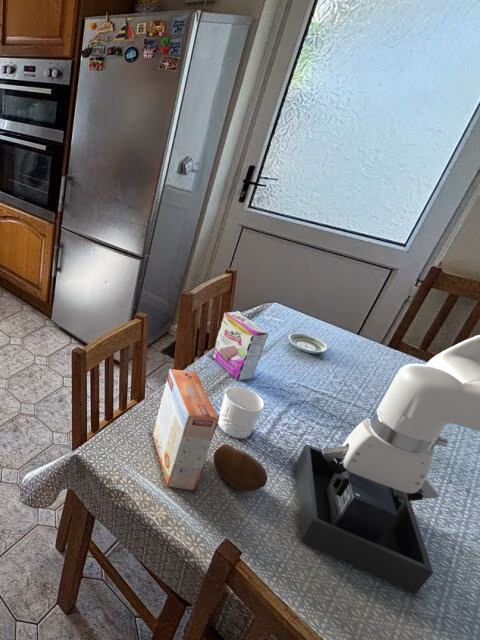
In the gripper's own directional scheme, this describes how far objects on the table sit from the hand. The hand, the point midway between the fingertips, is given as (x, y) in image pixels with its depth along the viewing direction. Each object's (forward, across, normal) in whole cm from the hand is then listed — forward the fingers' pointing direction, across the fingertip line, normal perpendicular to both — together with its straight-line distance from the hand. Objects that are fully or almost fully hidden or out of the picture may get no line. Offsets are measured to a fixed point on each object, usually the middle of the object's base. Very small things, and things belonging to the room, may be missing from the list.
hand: (360, 498), depth 78 cm
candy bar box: (+7, +22, -39) cm, 45 cm away
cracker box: (+7, +31, +4) cm, 32 cm away
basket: (+7, 0, 0) cm, 7 cm away
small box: (+6, 0, 0) cm, 6 cm away
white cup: (+7, +20, -14) cm, 25 cm away
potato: (+7, +19, +2) cm, 20 cm away
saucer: (+7, +3, -62) cm, 62 cm away
